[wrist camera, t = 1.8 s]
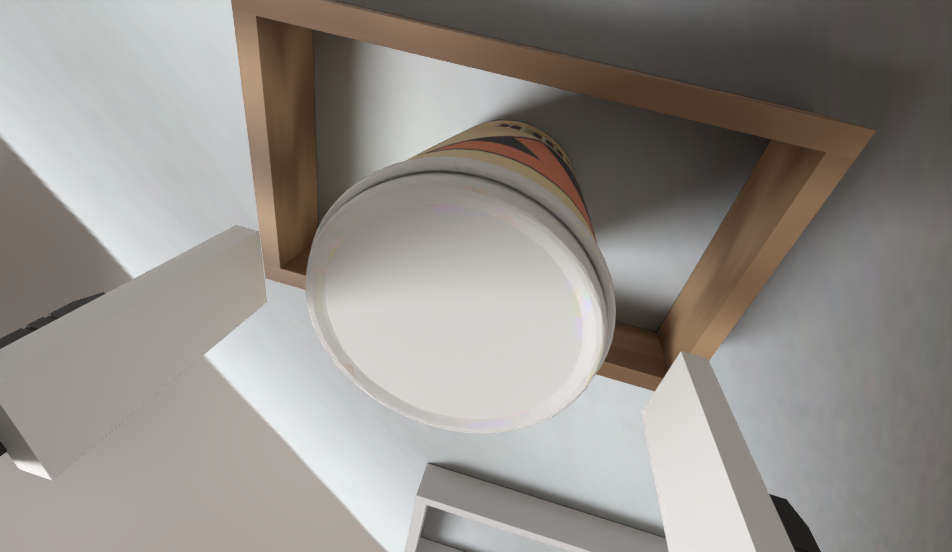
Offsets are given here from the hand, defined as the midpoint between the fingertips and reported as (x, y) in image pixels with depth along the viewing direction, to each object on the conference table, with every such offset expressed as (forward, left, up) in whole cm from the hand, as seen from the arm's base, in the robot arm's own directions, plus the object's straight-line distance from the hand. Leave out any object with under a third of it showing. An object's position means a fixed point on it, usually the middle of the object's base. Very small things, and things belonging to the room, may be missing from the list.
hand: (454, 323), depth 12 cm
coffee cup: (0, 0, -11) cm, 11 cm away
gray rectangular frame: (+34, +10, -11) cm, 37 cm away
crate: (0, 0, -11) cm, 11 cm away
